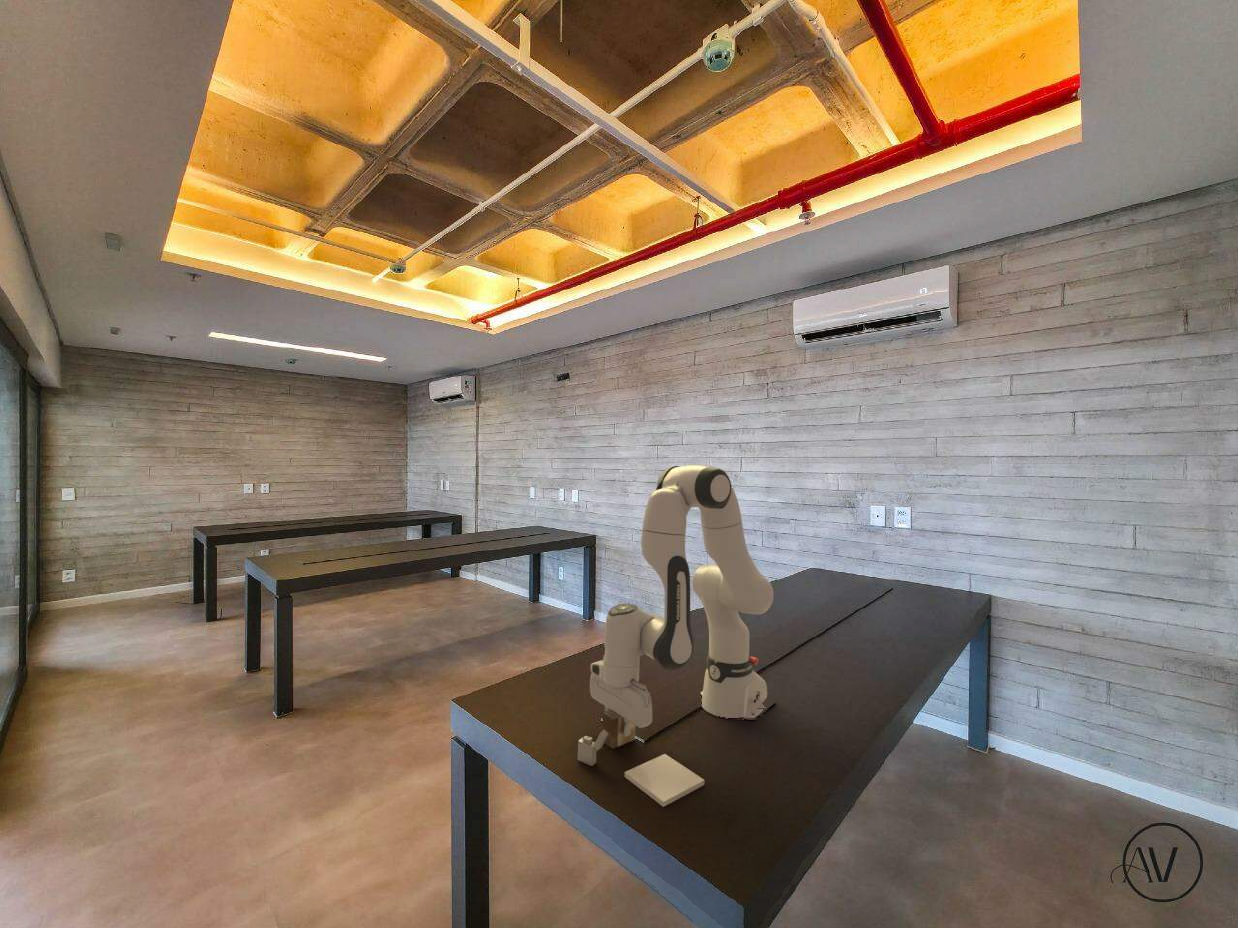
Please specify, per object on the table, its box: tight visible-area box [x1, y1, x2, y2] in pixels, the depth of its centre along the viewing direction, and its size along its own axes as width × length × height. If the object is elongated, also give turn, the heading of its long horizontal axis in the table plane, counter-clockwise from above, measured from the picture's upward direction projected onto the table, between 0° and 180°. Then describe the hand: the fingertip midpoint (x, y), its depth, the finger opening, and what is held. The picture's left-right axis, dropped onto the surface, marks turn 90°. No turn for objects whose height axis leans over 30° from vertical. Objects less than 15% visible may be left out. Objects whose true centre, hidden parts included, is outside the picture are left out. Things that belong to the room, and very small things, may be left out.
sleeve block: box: [601, 710, 636, 750], centre depth 124 cm, size 7×4×7 cm, turn 129°
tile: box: [624, 753, 705, 808], centre depth 108 cm, size 12×12×1 cm
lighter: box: [577, 730, 608, 767], centre depth 114 cm, size 7×2×8 cm, turn 59°
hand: (618, 729), depth 124 cm, fingers closed on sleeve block, 4 cm apart
